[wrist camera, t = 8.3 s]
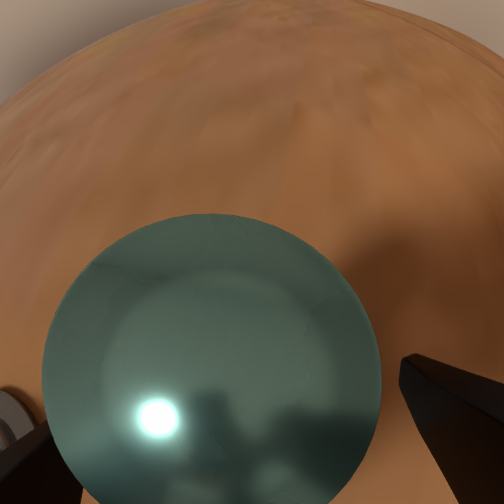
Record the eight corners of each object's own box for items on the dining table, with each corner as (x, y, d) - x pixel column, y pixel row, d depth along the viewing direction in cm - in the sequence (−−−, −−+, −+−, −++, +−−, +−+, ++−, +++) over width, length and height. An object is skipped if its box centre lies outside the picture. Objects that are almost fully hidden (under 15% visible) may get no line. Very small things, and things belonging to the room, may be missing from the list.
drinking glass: (273, 475, 10) (266, 591, 2) (164, 416, 11) (5, 404, 4) (331, 368, 12) (426, 290, 4) (222, 317, 13) (150, 179, 6)
